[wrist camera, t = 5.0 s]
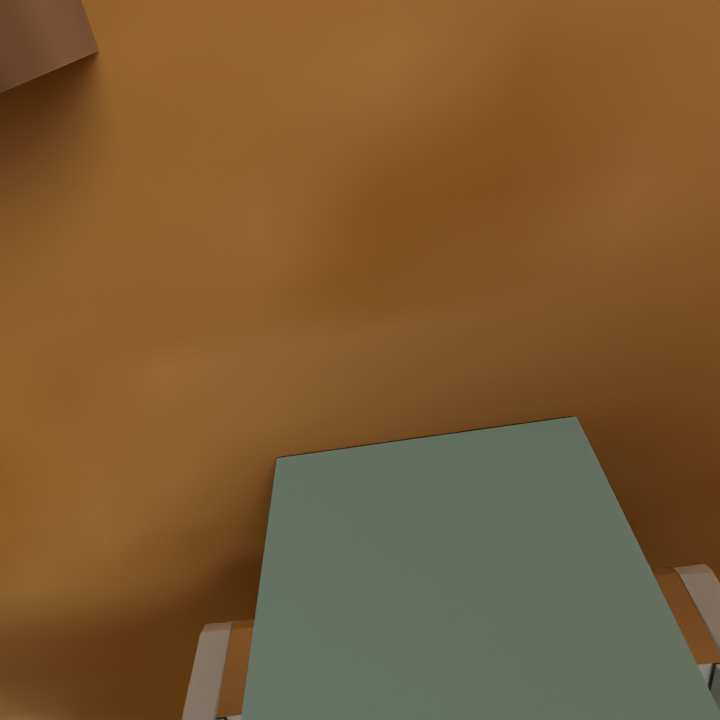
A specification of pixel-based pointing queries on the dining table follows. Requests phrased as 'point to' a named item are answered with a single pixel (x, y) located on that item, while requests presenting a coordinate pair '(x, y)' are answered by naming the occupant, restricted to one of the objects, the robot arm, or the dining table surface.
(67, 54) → the tower base
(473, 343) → the dining table surface
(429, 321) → the dining table surface
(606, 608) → the teal block
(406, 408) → the dining table surface
